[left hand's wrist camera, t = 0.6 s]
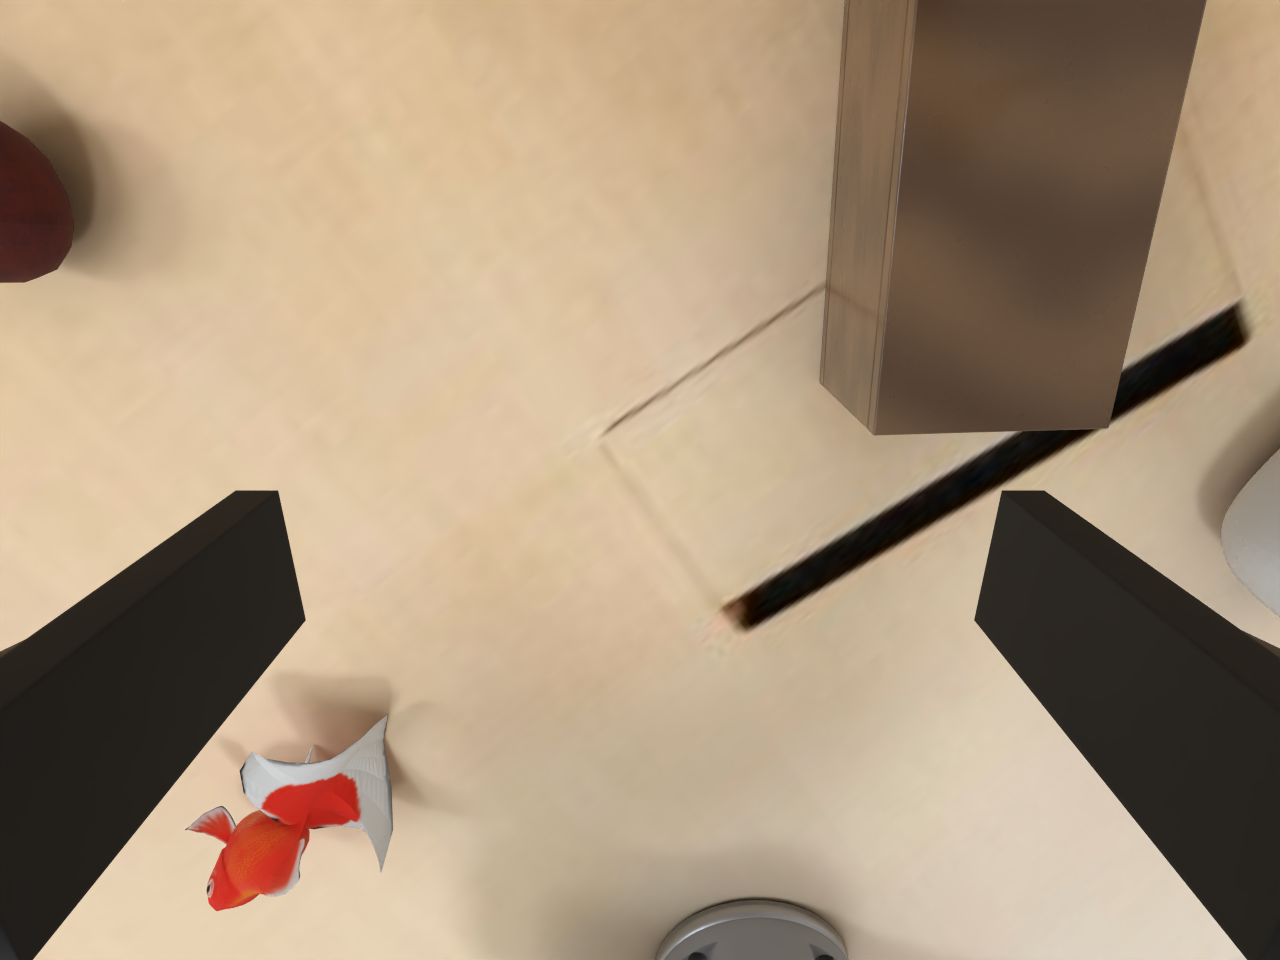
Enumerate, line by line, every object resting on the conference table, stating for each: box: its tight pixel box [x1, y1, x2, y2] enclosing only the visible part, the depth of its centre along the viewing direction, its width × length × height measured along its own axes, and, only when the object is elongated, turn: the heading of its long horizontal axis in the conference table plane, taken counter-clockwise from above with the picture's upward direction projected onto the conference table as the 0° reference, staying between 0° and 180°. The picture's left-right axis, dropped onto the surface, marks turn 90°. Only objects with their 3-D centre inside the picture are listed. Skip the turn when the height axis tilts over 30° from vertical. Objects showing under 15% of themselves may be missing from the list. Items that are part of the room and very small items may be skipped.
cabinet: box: [820, 0, 1206, 435], centre depth 30 cm, size 18×10×9 cm, turn 2°
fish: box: [185, 714, 393, 911], centre depth 43 cm, size 11×16×10 cm
